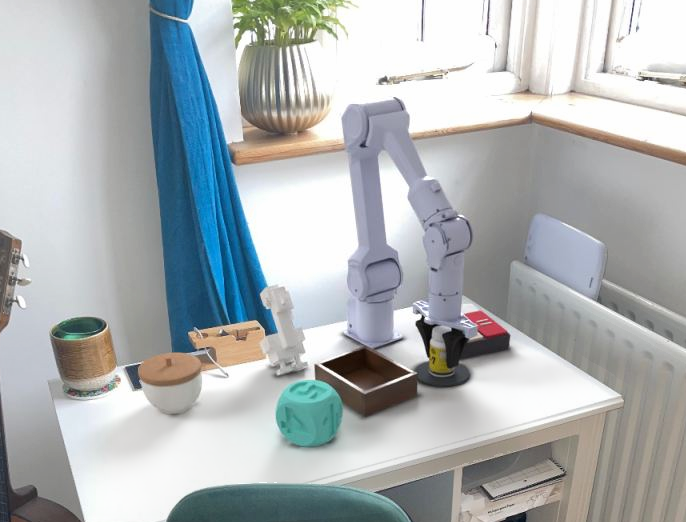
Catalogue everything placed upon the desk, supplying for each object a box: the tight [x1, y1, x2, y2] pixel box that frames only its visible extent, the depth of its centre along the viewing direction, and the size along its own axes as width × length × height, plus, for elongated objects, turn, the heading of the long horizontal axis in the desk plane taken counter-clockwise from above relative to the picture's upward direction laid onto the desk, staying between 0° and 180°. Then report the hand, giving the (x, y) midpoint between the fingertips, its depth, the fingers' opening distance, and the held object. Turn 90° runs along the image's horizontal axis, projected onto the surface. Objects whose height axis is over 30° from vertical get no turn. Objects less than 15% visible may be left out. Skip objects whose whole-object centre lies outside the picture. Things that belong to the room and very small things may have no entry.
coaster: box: [413, 360, 471, 388], centre depth 146 cm, size 10×10×1 cm
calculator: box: [460, 302, 511, 360], centre depth 157 cm, size 11×4×15 cm
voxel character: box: [259, 283, 309, 376], centre depth 147 cm, size 7×12×15 cm
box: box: [314, 345, 419, 418], centre depth 141 cm, size 15×12×4 cm
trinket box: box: [137, 352, 203, 415], centre depth 138 cm, size 11×11×9 cm
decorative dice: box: [275, 379, 344, 448], centre depth 128 cm, size 8×8×8 cm
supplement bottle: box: [428, 325, 455, 377], centre depth 143 cm, size 5×5×8 cm
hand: (442, 361), depth 144 cm, fingers closed on supplement bottle, 5 cm apart
